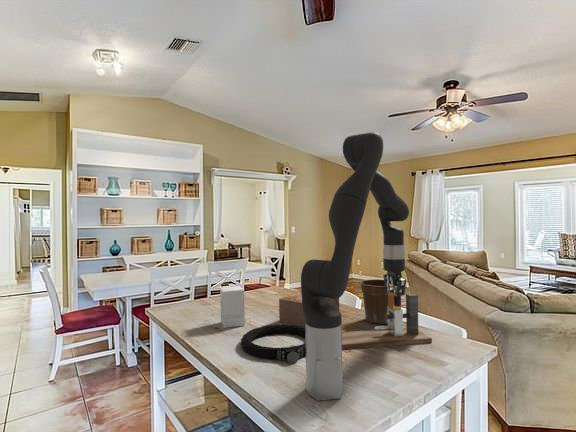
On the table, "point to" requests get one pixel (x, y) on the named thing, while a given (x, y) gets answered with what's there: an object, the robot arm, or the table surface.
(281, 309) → the tissue box cover
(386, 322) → the plant pot
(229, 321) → the supplement box
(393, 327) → the end link
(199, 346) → the table surface
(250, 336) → the cable lock
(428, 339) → the board
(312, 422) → the table surface
